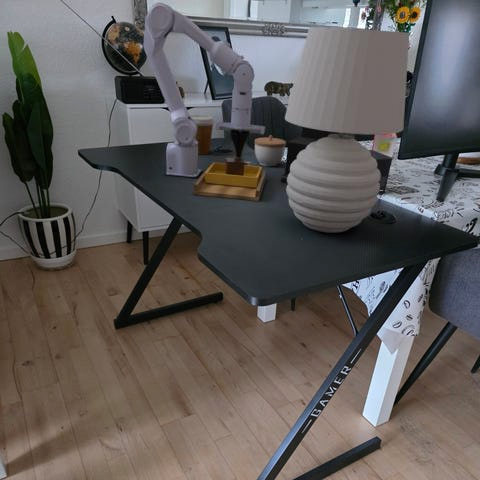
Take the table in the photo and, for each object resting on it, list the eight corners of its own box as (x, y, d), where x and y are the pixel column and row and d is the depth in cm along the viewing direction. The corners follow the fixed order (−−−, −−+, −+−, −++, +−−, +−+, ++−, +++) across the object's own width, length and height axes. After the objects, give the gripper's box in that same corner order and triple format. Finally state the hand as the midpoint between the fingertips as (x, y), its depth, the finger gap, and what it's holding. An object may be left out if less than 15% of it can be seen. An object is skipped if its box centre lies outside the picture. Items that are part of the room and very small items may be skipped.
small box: (347, 184, 140) (353, 149, 135) (364, 183, 143) (371, 149, 137) (368, 195, 132) (375, 158, 127) (385, 193, 135) (394, 157, 129)
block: (226, 179, 131) (227, 161, 128) (225, 174, 135) (225, 157, 133) (243, 179, 132) (244, 162, 129) (241, 175, 136) (242, 158, 133)
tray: (204, 182, 129) (204, 172, 128) (216, 167, 144) (216, 158, 143) (256, 187, 128) (257, 177, 126) (263, 171, 143) (263, 162, 141)
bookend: (312, 188, 135) (324, 102, 122) (280, 181, 139) (289, 97, 127) (339, 173, 152) (352, 96, 139) (309, 167, 157) (320, 92, 144)
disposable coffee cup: (191, 148, 170) (190, 114, 164) (215, 150, 170) (216, 116, 163) (185, 154, 163) (184, 118, 156) (210, 156, 162) (211, 120, 155)
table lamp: (322, 201, 124) (350, 30, 103) (400, 231, 108) (451, 36, 87) (253, 217, 111) (267, 24, 89) (329, 254, 94) (370, 28, 73)
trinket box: (281, 169, 152) (284, 140, 147) (250, 166, 153) (252, 136, 148) (285, 162, 161) (288, 134, 156) (256, 159, 162) (258, 131, 157)
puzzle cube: (371, 156, 177) (376, 134, 173) (371, 151, 184) (375, 131, 180) (392, 158, 176) (397, 137, 172) (391, 154, 183) (395, 133, 178)
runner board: (193, 194, 123) (193, 184, 122) (209, 174, 141) (209, 165, 140) (258, 201, 122) (259, 190, 120) (265, 179, 140) (266, 170, 138)
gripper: (214, 108, 128) (213, 157, 136) (264, 112, 127) (260, 162, 134) (219, 105, 134) (217, 152, 142) (267, 109, 133) (262, 156, 140)
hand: (238, 156), depth 138 cm, fingers closed
